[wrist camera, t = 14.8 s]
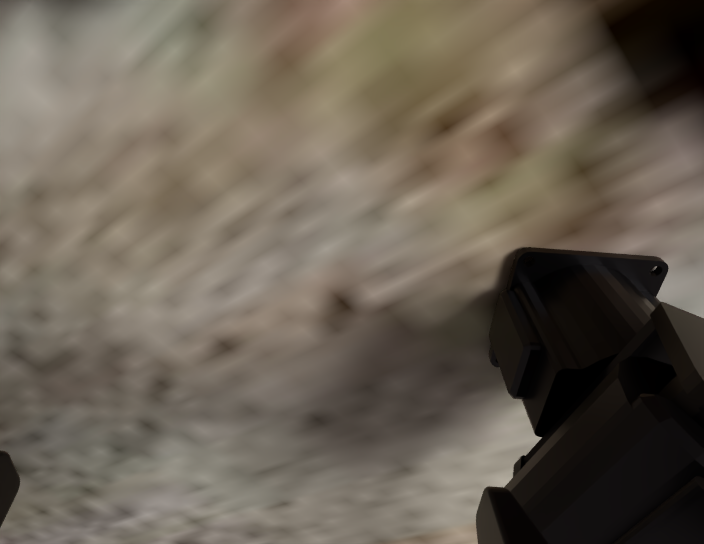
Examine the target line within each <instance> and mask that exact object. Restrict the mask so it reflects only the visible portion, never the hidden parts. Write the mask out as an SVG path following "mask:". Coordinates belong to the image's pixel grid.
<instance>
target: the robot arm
mask: <svg viewBox="0 0 704 544" xmlns="http://www.w3.org/2000/svg"><path fill="white" fill-rule="evenodd" d="M527 257H532V259H531V261H529V262H526V263H525V262H523V261H524V259H525V258H527ZM655 266H657V268H656V269H655V270H654V271H651V272H650V270H651V269H652V268H653V267H655ZM667 272H668V265H667V264H666V263H665V262H664V261H663V260H662V259H661V258H659V257H654V256H640V255H627V254H613V253H599V252H586V251H572V250H559V249H545V248H531V247H528V248H523V249H521V250H520V251H519V252H517V254H516V256H515V259H514V263H513V266H512V270H511V274H510V277H509V281H508V285H507V289H506V290H503V291H502V292H501V293H500V294H499V298H498V302H497V306H496V309H495V313H494V317H493V321H492V324H491V328H490V332H489V338H490V341H491V348H490V351H489V358H490V361H491V363H492V365H494V366H495V367H500V370H501V373H502V376H503V379H504V381H505V384H506V387H507V390H508V393H509V394H510V395H511V396H512V398H513V399H522V401H523V404H524V406H525V409H526V412H527V414H528V417H529V420H530V422H531V425H532V428H533V430H534V433H535V435H536V436H539V437H542V439H541V440H540V441H539V442H538V443H537V444H536V445H535V446H534V447H533V448H532V450H531V451H530V452H529V453H528V454H527V455H526V456H524V455H523V456H521V457H520V459H519V460H518V461H517V462H516V463H515V464H514V472H513V478H512V479H511V480H510V482H509V483H508V484H507V485H506V486H505V487H504V488H503V487H486V488H485V489H484V491H483V494H482V497H481V501H480V504H479V507H478V510H477V514H476V528H477V538H478V544H704V318H701V317H699V316H696V315H694V314H691V313H689V312H686V311H684V310H681V309H679V308H676V307H674V306H671V305H669V304H667V303H664V302H660V301H659V300H658V299H657V298H656V296H657V294H658V292H659V290H660V287H661V285H662V283H663V281H664V279H665V277H666V275H667ZM19 485H20V477H19V475H18V473H17V470H16V468H15V466H14V464H13V462H12V460H11V457H10V455H9V454H8V453H7V452H5V451H0V527H1V525H2V523H3V521H4V519H5V517H6V515H7V513H8V511H9V509H10V507H11V504H12V502H13V500H14V498H15V496H16V494H17V492H18V489H19Z"/></svg>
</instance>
